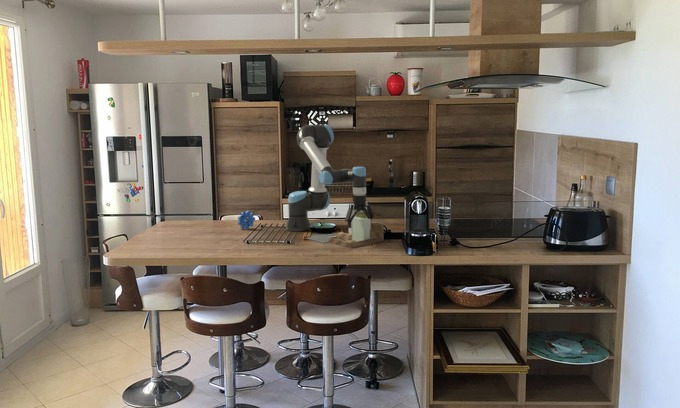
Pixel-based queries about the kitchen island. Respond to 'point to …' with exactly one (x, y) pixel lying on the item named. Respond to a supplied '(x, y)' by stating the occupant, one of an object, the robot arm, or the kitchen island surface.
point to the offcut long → (347, 240)
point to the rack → (375, 236)
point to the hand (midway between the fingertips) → (359, 231)
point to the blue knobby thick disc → (246, 219)
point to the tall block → (361, 229)
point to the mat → (320, 238)
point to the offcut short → (344, 236)
